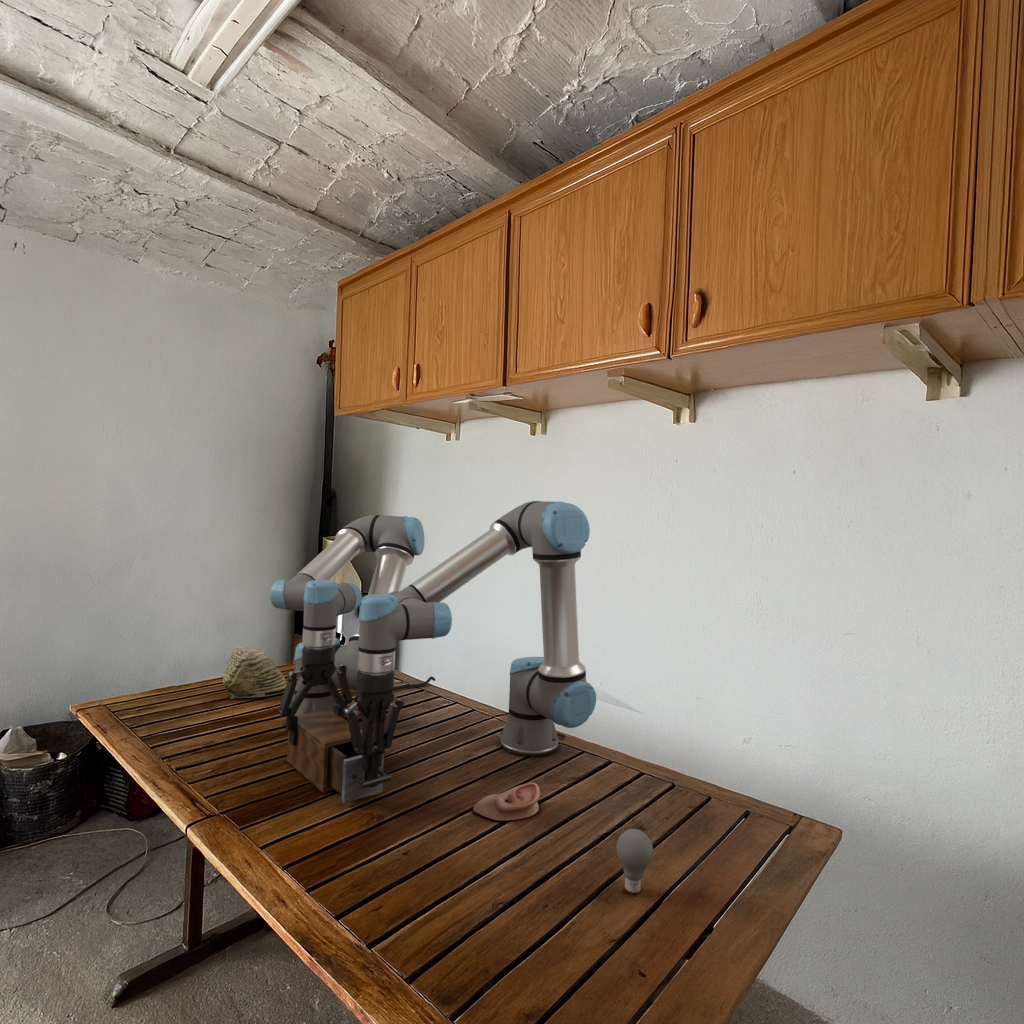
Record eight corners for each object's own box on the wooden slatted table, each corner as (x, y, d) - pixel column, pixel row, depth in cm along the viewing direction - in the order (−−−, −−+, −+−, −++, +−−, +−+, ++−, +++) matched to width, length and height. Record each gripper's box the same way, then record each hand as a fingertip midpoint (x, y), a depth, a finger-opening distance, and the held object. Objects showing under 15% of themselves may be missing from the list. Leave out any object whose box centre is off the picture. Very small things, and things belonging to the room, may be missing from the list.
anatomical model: (469, 797, 128) (483, 773, 139) (468, 816, 128) (482, 791, 139) (534, 806, 125) (543, 781, 136) (533, 826, 125) (542, 799, 136)
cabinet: (365, 780, 142) (367, 733, 142) (322, 792, 136) (324, 743, 135) (326, 751, 157) (328, 708, 157) (286, 761, 151) (288, 716, 150)
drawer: (395, 801, 131) (397, 760, 131) (356, 814, 125) (358, 770, 125) (342, 761, 149) (344, 725, 149) (306, 771, 144) (307, 733, 143)
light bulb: (610, 879, 108) (613, 822, 108) (644, 879, 109) (647, 822, 109) (619, 902, 102) (622, 840, 102) (655, 901, 103) (658, 840, 103)
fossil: (218, 695, 195) (220, 647, 195) (278, 685, 208) (279, 640, 207) (228, 703, 189) (230, 653, 188) (289, 692, 201) (290, 645, 201)
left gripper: (277, 655, 140) (273, 754, 140) (369, 643, 155) (365, 733, 155) (264, 648, 146) (261, 744, 146) (355, 637, 161) (351, 724, 161)
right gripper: (355, 680, 123) (349, 800, 123) (413, 670, 131) (407, 783, 132) (338, 670, 128) (332, 785, 129) (394, 662, 137) (389, 770, 137)
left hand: (315, 738), depth 151 cm, fingers closed on cabinet, 10 cm apart
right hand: (370, 784), depth 130 cm, fingers closed
